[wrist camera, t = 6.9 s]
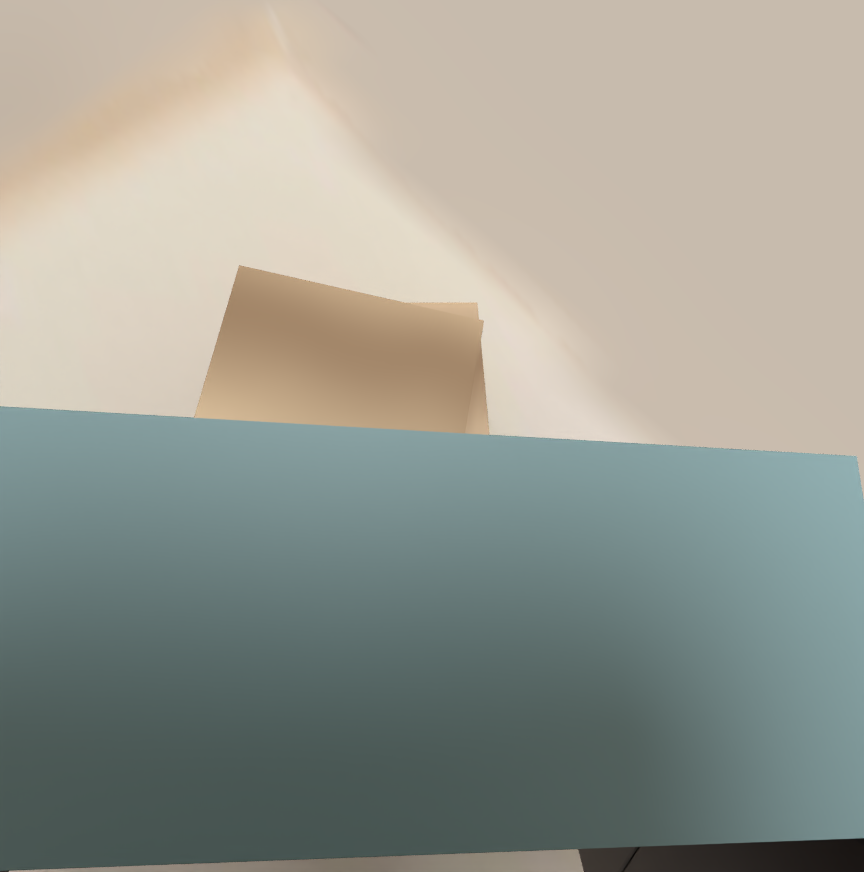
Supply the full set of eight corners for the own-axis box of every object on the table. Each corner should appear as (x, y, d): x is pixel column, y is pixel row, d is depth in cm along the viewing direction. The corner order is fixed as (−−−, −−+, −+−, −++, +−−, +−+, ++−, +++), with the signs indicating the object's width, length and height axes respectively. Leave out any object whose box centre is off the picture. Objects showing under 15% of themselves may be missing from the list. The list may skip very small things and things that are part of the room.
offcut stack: (463, 506, 18) (509, 481, 13) (241, 495, 17) (186, 462, 12) (466, 355, 20) (510, 272, 14) (259, 337, 19) (218, 241, 13)
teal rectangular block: (445, 609, 16) (915, 835, 3) (232, 605, 15) (-686, 896, 2) (446, 546, 16) (856, 456, 3) (239, 540, 16) (-463, 379, 2)
